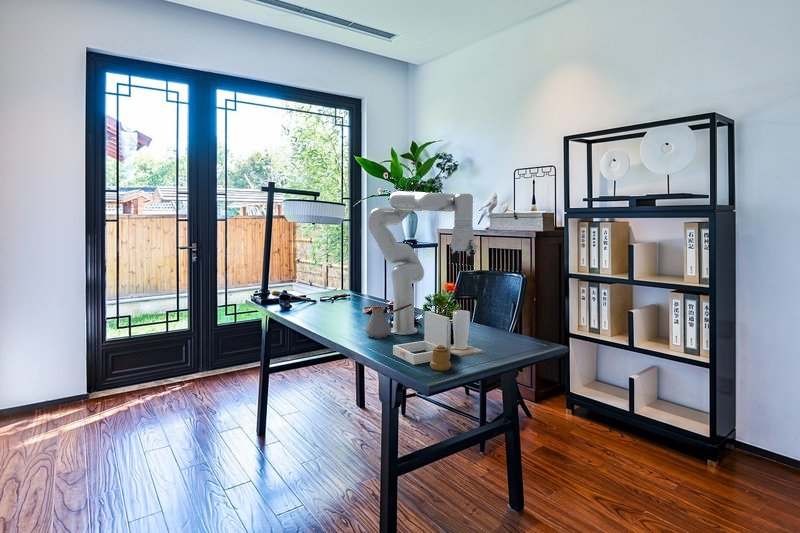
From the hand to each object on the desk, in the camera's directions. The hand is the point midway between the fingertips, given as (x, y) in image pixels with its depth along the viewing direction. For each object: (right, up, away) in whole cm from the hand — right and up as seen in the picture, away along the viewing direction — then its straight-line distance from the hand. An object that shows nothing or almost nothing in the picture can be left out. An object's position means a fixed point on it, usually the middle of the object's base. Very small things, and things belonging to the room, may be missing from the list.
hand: (462, 264), depth 199 cm
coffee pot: (-31, -32, +13) cm, 47 cm away
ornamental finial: (-12, -37, -32) cm, 50 cm away
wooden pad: (-2, -34, -9) cm, 36 cm away
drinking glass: (-2, -34, -9) cm, 35 cm away
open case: (-19, -35, -18) cm, 44 cm away
